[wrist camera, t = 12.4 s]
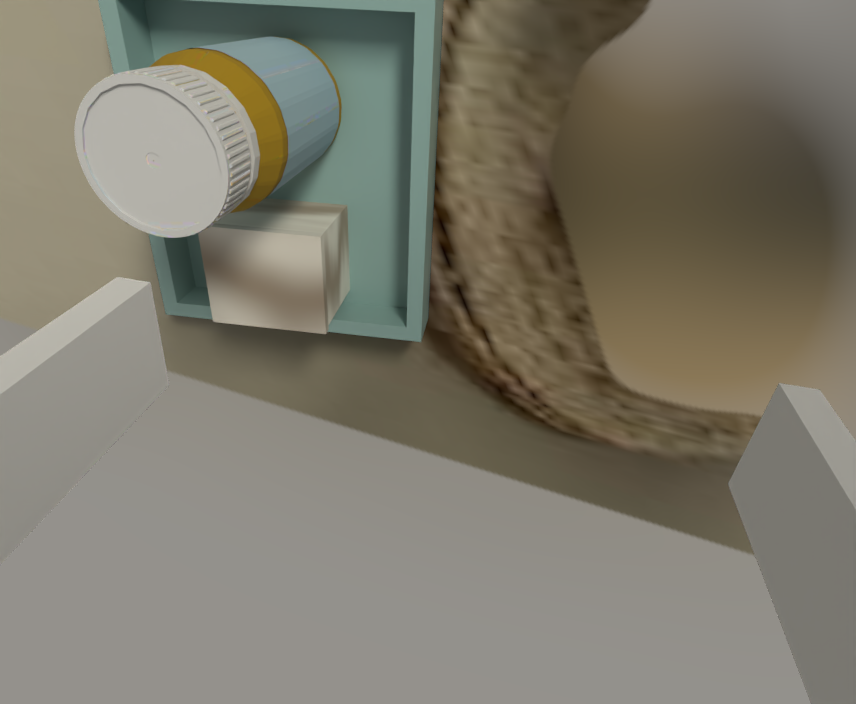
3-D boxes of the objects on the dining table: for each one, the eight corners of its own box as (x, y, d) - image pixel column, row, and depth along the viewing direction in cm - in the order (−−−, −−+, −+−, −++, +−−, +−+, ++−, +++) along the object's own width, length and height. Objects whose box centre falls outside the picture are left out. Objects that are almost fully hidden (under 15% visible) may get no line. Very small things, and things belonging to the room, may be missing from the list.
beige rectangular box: (241, 194, 38) (196, 225, 33) (348, 203, 38) (320, 236, 32) (252, 281, 42) (213, 322, 36) (351, 291, 41) (326, 334, 36)
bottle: (210, 104, 36) (35, 163, 23) (272, 6, 32) (109, 11, 20) (300, 185, 37) (185, 281, 25) (368, 99, 34) (275, 159, 21)
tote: (130, -25, 33) (92, -28, 30) (444, -10, 32) (435, -11, 29) (190, 292, 44) (165, 314, 41) (428, 317, 42) (420, 341, 39)
